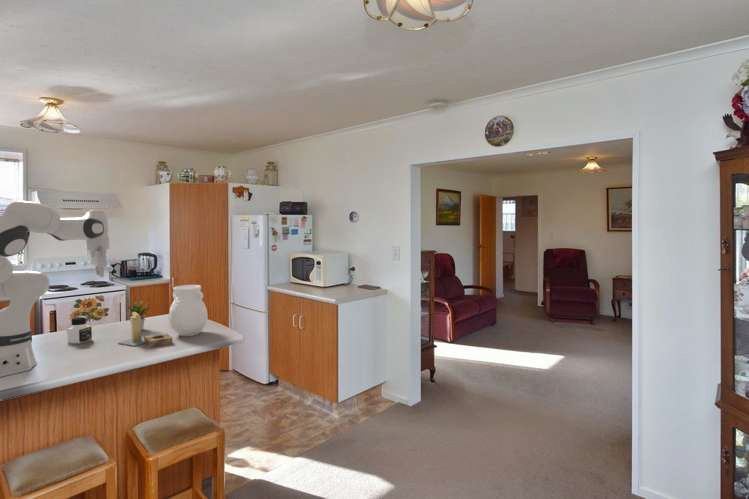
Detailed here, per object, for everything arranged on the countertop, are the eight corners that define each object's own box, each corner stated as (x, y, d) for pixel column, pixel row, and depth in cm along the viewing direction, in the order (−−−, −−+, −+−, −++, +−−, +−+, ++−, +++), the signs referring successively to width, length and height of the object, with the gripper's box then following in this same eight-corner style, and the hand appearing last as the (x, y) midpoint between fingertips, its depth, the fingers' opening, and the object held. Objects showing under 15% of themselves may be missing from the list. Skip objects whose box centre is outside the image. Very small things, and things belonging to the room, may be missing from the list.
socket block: (149, 347, 200) (149, 341, 199) (144, 342, 207) (144, 336, 207) (172, 343, 206) (172, 337, 206) (166, 339, 214) (166, 333, 213)
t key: (134, 343, 204) (133, 315, 203) (130, 339, 210) (129, 312, 209) (142, 342, 206) (141, 314, 205) (138, 338, 212) (138, 311, 211)
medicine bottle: (79, 344, 204) (78, 319, 203) (67, 343, 206) (66, 318, 205) (92, 339, 211) (91, 315, 210) (80, 338, 213) (79, 315, 212)
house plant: (129, 335, 219) (128, 304, 218) (115, 331, 226) (114, 301, 225) (156, 329, 231) (155, 299, 230) (141, 325, 239) (140, 296, 237)
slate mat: (134, 346, 201) (134, 345, 201) (118, 343, 205) (118, 342, 205) (154, 340, 211) (154, 339, 211) (138, 337, 215) (138, 336, 215)
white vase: (160, 337, 217) (159, 288, 215) (186, 328, 234) (185, 283, 232) (191, 340, 211) (190, 290, 209) (215, 331, 229) (214, 284, 227)
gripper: (109, 246, 190) (111, 277, 191) (103, 244, 206) (105, 273, 207) (92, 247, 186) (94, 278, 187) (87, 245, 202) (89, 274, 203)
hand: (100, 275), depth 197 cm, fingers open, 8 cm apart
